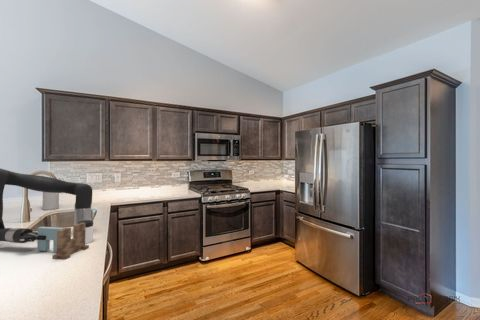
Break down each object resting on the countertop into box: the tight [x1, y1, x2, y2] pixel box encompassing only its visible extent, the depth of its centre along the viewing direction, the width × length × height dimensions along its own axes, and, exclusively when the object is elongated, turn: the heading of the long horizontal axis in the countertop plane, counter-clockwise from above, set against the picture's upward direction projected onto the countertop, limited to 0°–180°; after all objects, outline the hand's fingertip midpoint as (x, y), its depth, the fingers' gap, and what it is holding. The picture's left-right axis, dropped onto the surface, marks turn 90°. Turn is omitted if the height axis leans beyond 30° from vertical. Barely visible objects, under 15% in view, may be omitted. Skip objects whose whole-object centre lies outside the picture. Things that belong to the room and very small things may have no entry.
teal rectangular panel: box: [36, 226, 65, 253], centre depth 129 cm, size 14×2×12 cm, turn 84°
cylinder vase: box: [42, 192, 60, 211], centre depth 235 cm, size 12×12×25 cm
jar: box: [77, 219, 94, 245], centre depth 145 cm, size 9×8×12 cm
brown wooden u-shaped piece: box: [51, 223, 90, 260], centre depth 127 cm, size 16×7×14 cm, turn 174°
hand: (48, 236), depth 129 cm, fingers closed on teal rectangular panel, 2 cm apart
